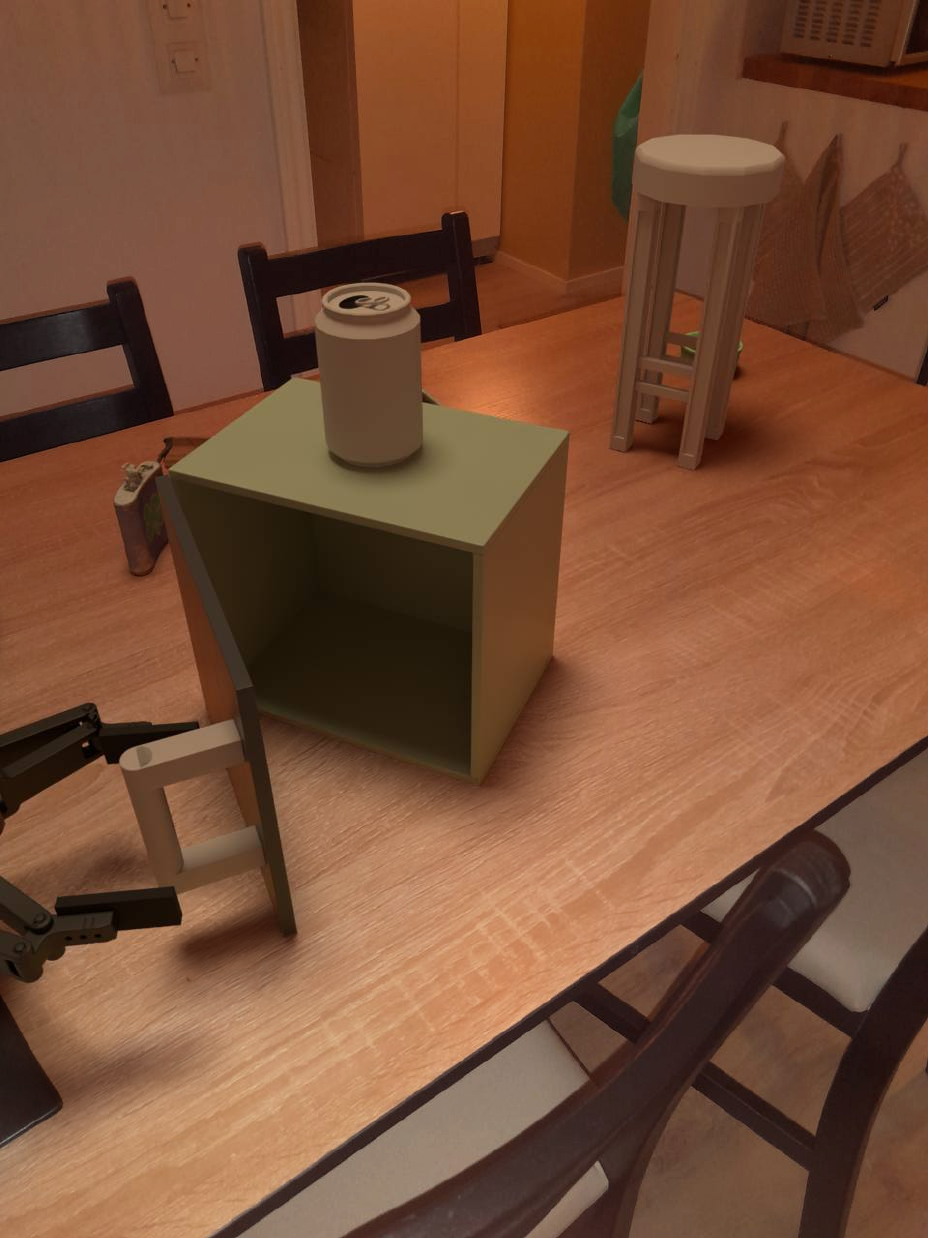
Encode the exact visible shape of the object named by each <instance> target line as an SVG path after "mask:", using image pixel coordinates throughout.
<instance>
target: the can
mask: <svg viewBox="0 0 928 1238" xmlns="http://www.w3.org/2000/svg"><path fill="white" fill-rule="evenodd" d="M411 299H412V295H410V293H409V292H408V291H407V290H406V289H403V288H401V287H400V286H398V285H397V286H396V285H392V284H390V283H389V284H388V283H382V282H381V283H380V282H357V283H348V284H345V285H341V286H337V287H335V288H333V289H330V290H329V291H327V292H326V293H325V294H324V295H322V298H321V300H320V302H321V305H322V306H323V307H322V308H321V309H320V310H319V311H318V313H317V314H316V315H315V318H314V322H313V325H314V333H315V344H316V356H317V365H318V376H319V382H320V387H321V398H322V408H323V418H324V429H325V439H326V444H327V446H328V448H329V450H330V451H332V452H333V453H334V454H336V455H337V456H339V457H340V458H341V459H342V460H344V461H345V462H347V463H349V464H352V465H355V466H360V467H367V468H380V467H386V466H392V465H394V464H397V463H400V462H402V461H404V460H406V459H407V458H409V457H410V455H411V454H412V453H413V452H415V451H416V450H417V449H418V448H419V447H420V446H421V444H422V443H423V406H422V388H423V377H422V376H423V374H422V373H423V371H422V336H421V335H422V334H421V333H422V332H421V315H420V314H419V312H418V311H417V310H416V309H415V308H414V307H413V305H411V301H412V300H411Z"/></svg>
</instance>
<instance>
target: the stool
mask: <svg viewBox="0 0 928 1238" xmlns="http://www.w3.org/2000/svg"><path fill="white" fill-rule="evenodd" d="M785 164H786V157H785V155H784V154H783V153H782V152H781V151H780V150H779V149H777V147H776V146H774V145H772V144H769V143H766V142H762V141H758V140H754V139H751V138H748V137H747V138H745V137H739V136H731V135H729V136H728V135H723V134H722V135H720V134H687V133H685V134H683V133H682V134H680V133H679V134H673V135H666V136H658V137H652V138H650V139H648V140H646V141H645V142H643V143H640V144H639V145H638V146H637V147H636V148H635V150H634V157H633V166H632V167H633V168H632V176H631V184H632V185H633V188H634V190H635V192H636V199H635V200H636V201H635V207H634V208H635V209H634V217H633V227H632V236H631V245H630V254H629V264H628V272H627V282H626V291H625V300H624V309H623V318H622V326H621V327H622V328H621V337H620V346H619V357H618V365H617V373H616V382H615V383H616V385H615V391H614V392H615V393H614V401H613V411H612V421H611V430H610V439H609V449H611V450H615V451H618V450H619V452H622V453H627V451H628V450H629V449H630V448H631V447H632V446H631V445H633V440H634V432H635V424H636V420H639V421H638V422H640V421H644V422H647V423H646V424H648V423H650V424H649V425H652V424H653V423H654V422H655V421H656V420H657V419H658V414H659V408H660V402H661V401H660V399H661V398H664V399H668V400H672V401H676V402H680V403H685V404H686V409H685V415H684V421H683V426H682V433H681V440H680V447H679V453H678V459H677V467H680V468H684V469H688V470H692V471H695V470H696V469H697V467H698V466H699V465H700V463H701V461H702V460H701V459H702V454H703V449H704V442H705V439H706V438H707V439H709V440H714V441H718V440H719V439H720V437H721V436H722V435H723V434H724V430H725V429H724V428H725V424H726V418H727V414H728V407H729V403H730V397H731V392H732V386H733V381H734V376H735V373H734V370H735V365H736V360H737V354H738V349H739V344H740V341H741V338H742V334H743V333H742V332H743V328H744V322H745V318H746V317H745V316H746V312H747V306H748V299H749V295H750V290H751V284H752V278H753V273H754V269H755V262H756V258H757V253H758V252H757V251H758V246H759V243H760V242H759V241H760V237H761V232H762V231H761V230H762V227H763V226H762V225H763V220H764V215H765V211H766V204H767V203H770V202H771V200H773V199H774V198H775V197H777V195H779V194H780V191H781V185H782V180H783V174H784V169H785ZM687 206H688V207H693V208H717V213H716V219H715V225H714V232H713V236H712V237H713V238H712V244H711V250H710V256H709V257H710V258H709V262H708V263H709V264H708V269H707V275H706V277H707V278H706V282H705V287H704V295H703V300H702V307H701V313H700V319H699V327H698V331H699V332H698V337H694V336H689V335H685V334H683V333H679V332H675V331H670V328H671V322H672V315H673V314H672V313H673V306H674V299H675V294H676V293H675V292H676V285H677V278H678V270H679V265H680V256H681V250H682V242H683V236H684V230H685V229H684V228H685V221H686V213H687ZM668 345H674V346H679V347H680V346H684V347H688V348H693V349H696V351H695V357H694V360H689V359H685V358H680V356H675V355H670V354H667V349H668ZM735 371H736V370H735ZM664 374H666V375H671V376H676V377H679V378H680V377H681V378H683V379H684V378H685V379H689V380H690V383H689V389H688V390H687V389H683V388H679V387H674V386H670V385H667V384H663V378H664ZM653 421H654V422H653ZM644 422H643V423H644ZM652 422H653V423H652ZM651 423H652V424H651ZM630 446H631V447H630ZM629 447H630V448H629Z"/></svg>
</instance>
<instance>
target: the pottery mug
mask: <svg viewBox="0 0 928 1238" xmlns="http://www.w3.org/2000/svg"><path fill="white" fill-rule="evenodd" d="M212 437H213V436H197V435H196V436H194V435H193V436H192V435H190V436H168V437H165V438H163V441H162V442H163V443H164V445H165V447H164V448H163V449H162V450H161V451H160V453H159V454H158V457H157V458H156V462H158V463H160V464H161V463H162V462H163V464H164V468H166V470H168V469H169V468H170V467H172V466H173V465H175V464H176V463H177V462H179V461H180V460H181V459H183V458H184V457H186V456H187V455H188V454H190V453H191V452H192V451H194V450H195V449H196V448H198V447H199V446H201V445H202V444H203V443H205V442H206V441H207V440H209V439H210V438H212Z"/></svg>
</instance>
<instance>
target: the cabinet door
mask: <svg viewBox="0 0 928 1238" xmlns="http://www.w3.org/2000/svg"><path fill="white" fill-rule="evenodd" d="M155 481H156V485H157V490H158V494H159V499H160V503H161V508H162V512H163V517H164V521H165V526H166V530H167V535H168V539H169V542H168V543H169V547H170V552H171V556H172V561H173V566H174V570H175V571H174V572H175V575H176V580H177V583H178V584H177V585H178V588H179V593H180V598H181V603H182V607H183V611H184V615H185V620H186V624H187V629H188V632H189V638H190V642H191V643H190V644H191V646H192V647H191V648H192V652H193V655H194V660H195V664H196V669H197V674H198V679H199V682H200V683H199V684H200V687H201V691H202V697H203V701H204V705H205V709H206V710H207V711H206V712H207V715H208V718H209V721H210V724H211V725H207V726H204V727H200V729H196V730H193V731H189V732H186V733H182V734H178V735H175V736H171V737H168V738H164V739H161V740H157V741H154V742H150V743H147V744H143V745H140V746H136V747H133V748H130V749H128V750H127V751H125V752H124V753H123V754H122V756H121V757H120V760H119V764H118V765H119V767H120V770H121V773H122V777H123V780H124V783H125V786H126V790H127V792H128V796H129V798H130V799H129V800H130V802H131V805H132V808H133V811H134V815H135V818H136V821H137V824H138V828H139V831H140V834H141V837H142V840H143V844H144V847H145V850H146V853H147V856H148V860H149V863H150V866H151V869H152V872H153V875H154V879H155V882H156V885H157V888H158V887H169V886H174V887H175V891H176V894H177V896H178V895H180V894H184V893H186V892H190V891H192V890H196V889H198V888H201V887H205V886H208V885H210V884H213V883H217V882H219V881H223V880H225V879H229V878H232V877H235V876H237V875H240V874H243V873H246V872H249V871H252V870H255V869H258V868H259V869H260V873H261V876H262V878H263V881H264V884H265V887H266V890H267V893H268V896H269V899H270V902H271V904H272V908H273V911H274V914H275V917H276V920H277V923H278V926H279V928H280V931H281V934H282V937H283V938H286V937H288V936H290V935H293V934H296V933H298V928H297V925H296V918H295V912H294V907H293V900H292V895H291V890H290V883H289V879H288V873H287V868H286V867H287V866H286V862H285V855H284V851H283V844H282V840H281V839H282V838H281V833H280V829H279V821H278V817H277V810H276V804H275V800H274V794H273V788H272V782H271V777H270V770H269V766H268V760H267V753H266V749H265V742H264V737H263V733H262V725H261V719H260V714H258V709H257V703H256V698H255V692H254V686H253V684H252V681H251V679H250V676H249V674H248V671H247V669H246V666H245V664H244V661H243V659H242V656H241V654H240V651H239V649H238V646H237V644H236V641H235V639H234V636H233V634H232V631H231V629H230V626H229V624H228V621H227V619H226V617H225V614H224V612H223V609H222V607H221V604H220V602H219V599H218V597H217V594H216V592H215V589H214V587H213V584H212V582H211V579H210V577H209V574H208V572H207V569H206V567H205V564H204V562H203V559H202V557H201V554H200V552H199V550H198V547H197V545H196V542H195V540H194V537H193V535H192V532H191V530H190V527H189V525H188V522H187V520H186V517H185V515H184V512H183V510H182V507H181V505H180V502H179V500H178V497H177V495H176V492H175V490H174V488H173V485H172V483H171V480H170V477H169V474H163V476H158V477H155ZM224 769H226V772H227V774H228V777H229V780H230V783H231V786H232V789H233V792H234V795H235V798H236V802H237V804H238V806H239V810H240V813H241V815H242V819H243V821H244V824H245V827H244V828H241V829H239V830H235V831H232V832H228V833H226V834H223V835H220V836H216V837H214V838H209V839H207V840H203V841H201V842H198V843H194V844H191V845H188V846H185V847H181V845H180V842H179V838H178V835H177V830H176V827H175V824H174V823H175V822H174V820H173V816H172V813H171V809H170V806H169V802H168V798H167V795H166V790H165V787H169V786H172V785H175V784H178V783H181V782H184V781H189V780H191V779H194V778H198V777H201V776H204V775H209V774H212V773H214V772H219V771H221V770H224Z"/></svg>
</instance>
